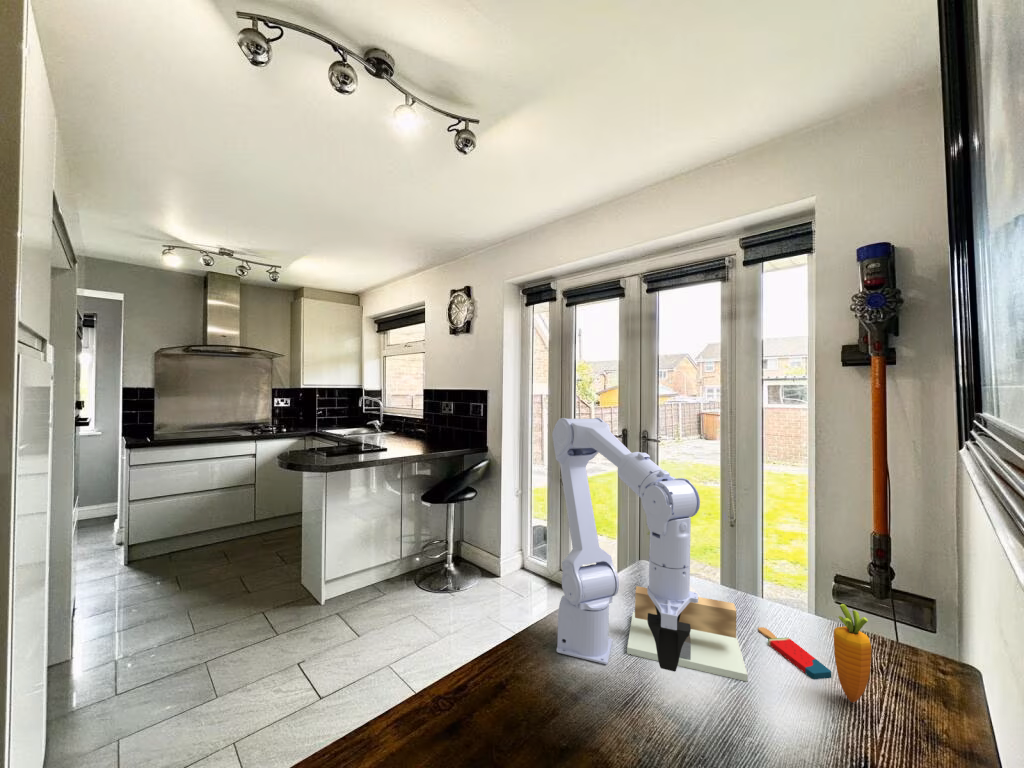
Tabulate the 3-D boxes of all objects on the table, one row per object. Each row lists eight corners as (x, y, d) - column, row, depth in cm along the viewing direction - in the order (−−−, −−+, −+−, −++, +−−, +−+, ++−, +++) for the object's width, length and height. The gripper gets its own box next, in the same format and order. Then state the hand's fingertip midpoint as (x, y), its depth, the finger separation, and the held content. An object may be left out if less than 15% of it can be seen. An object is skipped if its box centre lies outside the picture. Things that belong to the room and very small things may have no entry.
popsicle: (770, 624, 88) (834, 671, 73) (770, 631, 88) (834, 679, 73) (750, 625, 88) (810, 673, 73) (750, 632, 88) (811, 681, 73)
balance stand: (627, 653, 79) (627, 631, 79) (632, 616, 92) (633, 597, 92) (747, 681, 72) (747, 656, 72) (735, 637, 85) (735, 616, 85)
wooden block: (634, 617, 84) (635, 592, 84) (636, 610, 86) (636, 586, 87) (736, 638, 77) (736, 610, 78) (733, 629, 80) (733, 603, 80)
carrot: (879, 716, 65) (880, 618, 65) (843, 710, 66) (843, 614, 66) (859, 693, 69) (860, 602, 70) (826, 689, 70) (826, 599, 71)
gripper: (702, 586, 55) (700, 692, 54) (695, 548, 68) (694, 632, 68) (645, 577, 57) (643, 678, 57) (649, 542, 71) (648, 623, 70)
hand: (667, 652), depth 62 cm, fingers open, 7 cm apart
